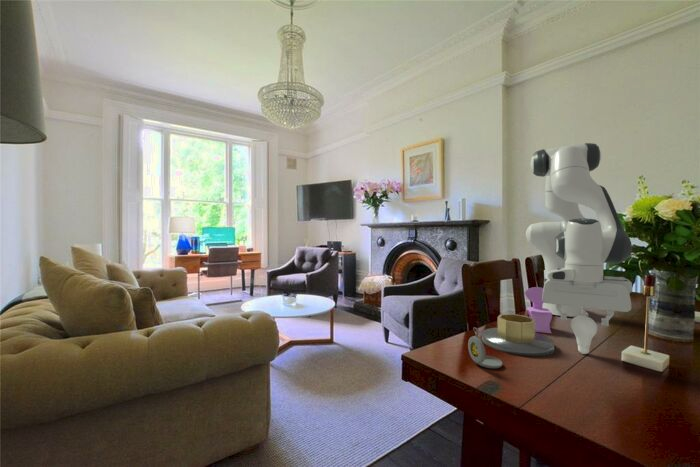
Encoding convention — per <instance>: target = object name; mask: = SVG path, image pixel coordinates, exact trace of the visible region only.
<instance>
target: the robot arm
mask: <svg viewBox="0 0 700 467" xmlns="http://www.w3.org/2000/svg"><path fill="white" fill-rule="evenodd" d="M532 154H533V155H532V157H531V158H530V159H531V160H530V162H529V163H530V164H529V166H530V169H531V171H532V174H533V175H535V177H540V178H541V177H543V178H545V177H546V178H545V184H544V186H545V187H544V188H545V189H544V193H545V196H544V201H545V202H544V205H545V209H546V210H547V211H548V212H549V213H551V214H554V215H557V216H559V217H560V218H562V221H541V222H535V223H531V224H530V225H529V226H528V227H527V228H526V231H525V239H526V240H527V242H528V243H529V244H530V245H531V246H533V247H534V248H535V249H536V250H537V251H538V253H540V255H541V256H542V259H543V262H544V264H543V265H544V274H545V275H544V278H543V287H542V288H543V294H542V300H543V301H544V302H545V303H543V305H542V308H547V309H548V310H549V311H551V312H552V316H553V315H555V316H560V321H568V320H567V319H568V318H567V317H570V318H571V317H572V318H575V317H577V316H587V317H589V313H588V312H587V311H586V310H584V309H583V308H587V309H597V310H606V313H607V315H606V316H605V318H603V317H601V318H600V320H601V322H600V325H601V326H604V327H609V326H610V325H609V324H610V323H609V321H610V320H611V319H612V318H613V316H614V315H615V312H622V313H624V312H625V313H628V312H629V311H631V310H632V301H631V300H632V299H631V296H630V294H631V293H632V291H633V283H632V281H631V280H630V279H629V278H625V277H624V276H612V275H604V263H605V264H611V265H615V264H616V265H619V264H621V263H622V262H624V261H626V260H627V259H629V258H630V257H631V255H632V253H633V244H632V241H631V238H630V237H629V235H628V232H627V231H626V230H625V228H624V227H623V224H622V222H621V220H620V217H619V215H618V212H617V210H616V208H615V206H614V202H613V201H612V199H611V196H610V194H609V192H608V190H607V189H606V188H605V187H604V186H603V185H600V184H598V183H597V182H596V181H595V180H594V179H593V177H592V176H591V173H590V172H593V171H594V170H596V169H597V168H598V167H599V164H600V162H601V160H602V152H601V150H600V147H599V145H597V144H596V143H591V142H587V143H583V144H581V143H576V144H567V145H566V144H565V145H562V146H561V145H560V146H557V147H556V146H555V147H551V148H546V149H545V148H543V149H540V150H537V151H535V152H534V153H532ZM579 205H580V206H581V205H582V206H585V207H587V208H589V209H591V210H593V212H595V214H596V216H597V218H598V220H597V219H594V218H586V217H585V216H584V215H583V214H582V212H581V210H580V207H579Z"/></svg>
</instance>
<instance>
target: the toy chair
mask: <svg viewBox="0 0 700 467" xmlns="http://www.w3.org/2000/svg"><path fill="white" fill-rule="evenodd" d="M543 288H544V287H540V286H534V287H530V288H528V289H526V290H525V291H524V296H525V298H527V300H529V301H530V302H531V303H532V306H527V307H526V308H527V309H526V310H527V311H526V312H527V313H528V317H530V318H533V319H535V333H544V334H552V331H551V328H550V327H551V326H550V324H551V321H552V318H553V314H552V312H551V311H549V310H548V309H547V308H542V305H543V303H545V302H544V301H543V300H542V294H543Z"/></svg>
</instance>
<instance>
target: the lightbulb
mask: <svg viewBox="0 0 700 467" xmlns="http://www.w3.org/2000/svg"><path fill="white" fill-rule="evenodd" d="M570 329H571V331H572V332H573V334H574V337H575V338H576V344H577V350H578V352H580V354H582V355H587V354H590V347H591V343H592V339H594V337H595V335H596V334H597V333H598V332H597V331H598V325H597V323H596V322H595V320H593V318H591V317H589V316H575V317H572V320H571V321H570Z"/></svg>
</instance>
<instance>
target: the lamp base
mask: <svg viewBox="0 0 700 467" xmlns="http://www.w3.org/2000/svg"><path fill="white" fill-rule="evenodd" d="M481 341H482V343H483V344H485V345H486V346H488V347H490V348H492V349H493V350H496V351H499V352H502V353H506V354H510V355H515V356H521V357H546V356H551V355H553V353H554V352H555V342H554V340H553V339H551V338H550V337H548V336H546V335H543V334H541V333H539V332H535V319H533V318H530V317H529V316H527V315H522V314H521V315H520V314H514V313H505V314H504V313H502V314H499V315H498V316H497V327H491V328H486V329H484V330H482V332H481Z"/></svg>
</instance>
